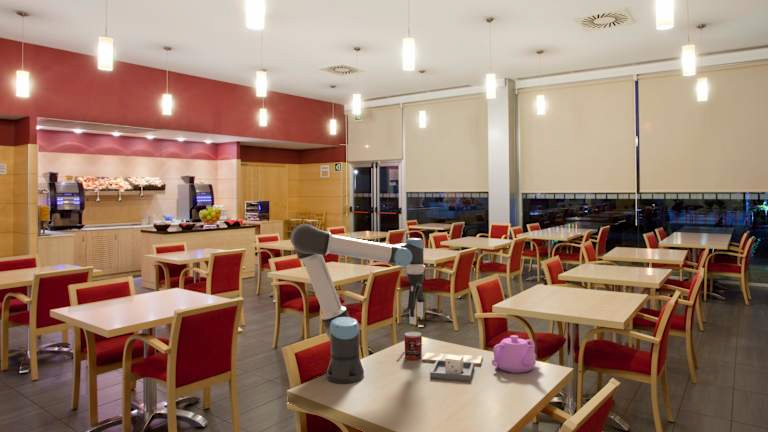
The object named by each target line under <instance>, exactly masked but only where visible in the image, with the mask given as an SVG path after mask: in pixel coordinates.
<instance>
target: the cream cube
mask: <svg viewBox="0 0 768 432" xmlns="http://www.w3.org/2000/svg"><path fill="white" fill-rule="evenodd" d="M448 354H449V355H448V356H447V357H446V358H445V373H456V374H461V373H462V371H463V356H458V355H459V354H455V355H450V354H451V353H448Z"/></svg>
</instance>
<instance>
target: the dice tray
mask: <svg viewBox="0 0 768 432" xmlns="http://www.w3.org/2000/svg"><path fill="white" fill-rule="evenodd" d="M474 369H475V366H474V362H463V371H462V373H461V374H456V373H445V360H436V362H435V363H434V364H433V365H432V368H431V370H430V372H429V379H433V380H444V381H446V380H447V381H456V382H457V381H458V382H471V380H472V377H473V373H474Z"/></svg>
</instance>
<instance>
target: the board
mask: <svg viewBox="0 0 768 432" xmlns="http://www.w3.org/2000/svg"><path fill="white" fill-rule="evenodd" d="M449 354H450V355H456V354H455V353H454V354H451V353H439V352H437V353H436V352H426V353H425V354H424V356H423V357H422V358H421V359H422V360H421V362H422V363H434V364H435V362H436V360H445V358H446V357H447V356H448V355H449ZM403 355H405V351H402V352H401V353H400V355H399V356H398V358H397V359H396V362H399V361H400V360H401V358H402V357H403ZM457 355H458V356H463V362H474V367H481V366H482V362H483V356H482V355H479V356H478V355H471V354H470V355H469V354H466V355H465V354H457Z"/></svg>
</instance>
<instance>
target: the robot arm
mask: <svg viewBox="0 0 768 432" xmlns="http://www.w3.org/2000/svg"><path fill="white" fill-rule="evenodd" d="M289 239H290V243H291V245H293V248H294V251H295V253H296V256H297V258H298V260H299V261H301V262H303V264H304V267H305V270H306V272H307V274H308V277H309V280H310V283H311V285H312V288H313V291H314V293H315V297H316V299H317V300H318V304H319V307H320V309H321V311H322V314H321V316H320V318H321V321H322V324H323V327H324V331H325V333H326V336H327V337H328V339H329V342H330V360H329V364H328V367H327V371H326V378H327V381H329V382H332V383H336V384H353V383H356V382H359V381H361V380H363V379H364V377H365V371H364V367H363V364H362V361H361V357H360V326H359V322H358V320H357V319H356V318H354V317H350V314H349V312H348V309H347V307H346V306H344V305H342V303H341V300H340V297H339V295H338V292H337V290H336V287H335V284H334V282H333V279H332V276H331V274H330V272H329V269H328V266H327V263H326V261H325V258H324V256H328V254H329V255H330V254H331V255H337V256H343V257H350V258H357V259H360V260H361V259H363V260H366V261H367V260H368V261H375V262H381V263H386V264H392V265H397V266H399V267H406V273H407V274H406V279H407V280H406V281H407V282H408V283H411V285H409V289H408V292H409V293H408V302H407V310H409V318H408V319H409V325H417V317H424V302H425V296H424V290H423V283H424V282H425V273H424V272H425V271H424V270H425V269H424V268H425V267H426V266H425V265H424V241H423V239H422V238H418V237H411V238H410V237H409V238H407V239H405V240H406V241H405V243H391V244H390V243H387V244H386V243H382V242H381V243H380V242H375V241H370V240H369V241H368V240H363V239H357V238H351V237H346V236H341V235H335V234H332V233H331V232H330V231H328V230H327V231H326V230H322V229H319V228H317V227H315V226H314V225H312V224H310V223H307V222H305V223H301V224H298V225H296V226H294V227H293V229H292V231H291V233H290V238H289Z"/></svg>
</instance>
